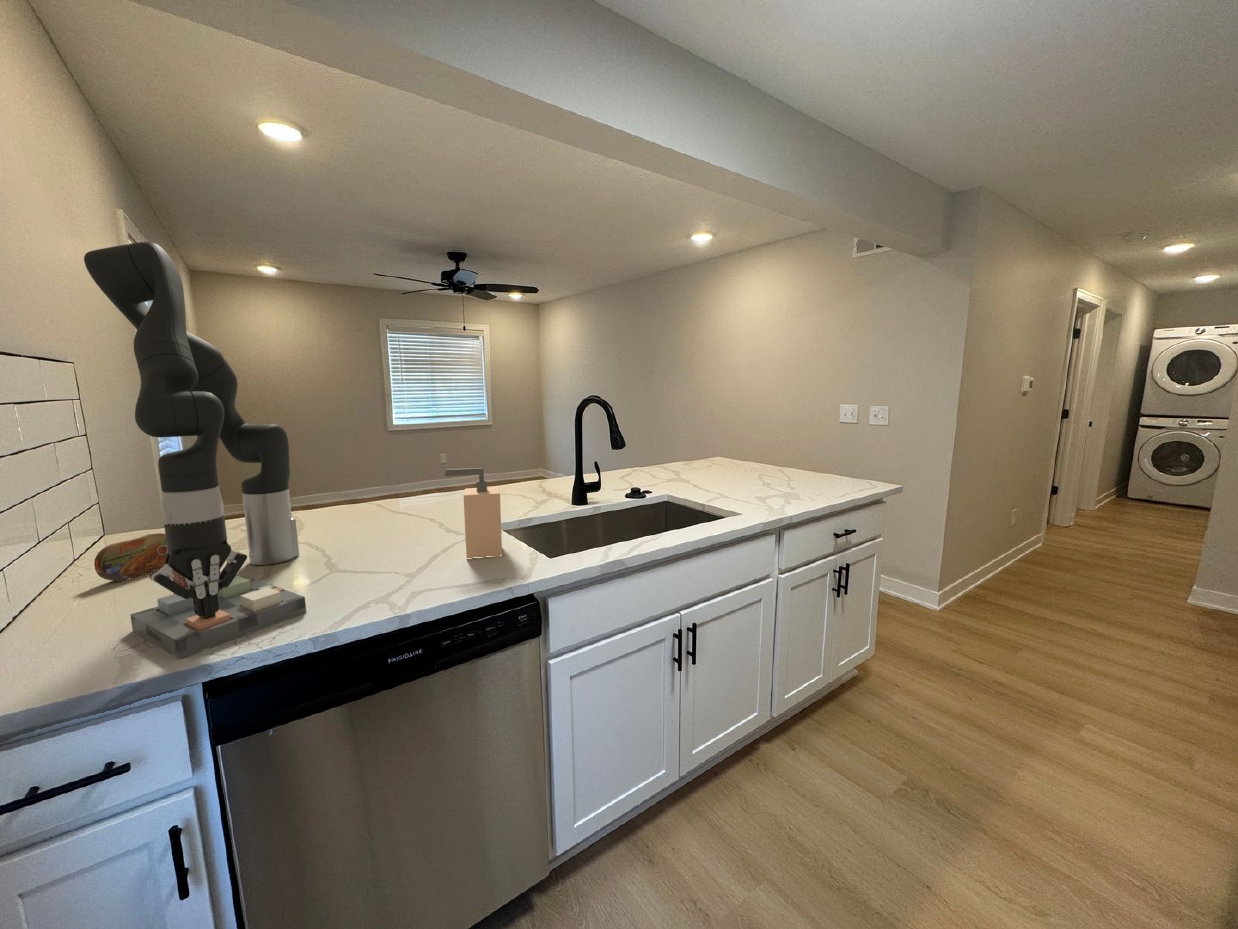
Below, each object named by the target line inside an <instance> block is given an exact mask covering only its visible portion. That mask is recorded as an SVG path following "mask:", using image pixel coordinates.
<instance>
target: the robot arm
mask: <svg viewBox="0 0 1238 929" xmlns="http://www.w3.org/2000/svg"><path fill="white" fill-rule="evenodd" d="M83 262H84V264H85V268H86V270H87V272H88V274H89V275H90V277H91V279H92V280H93V281H94V283H95V284H96V286H98V288H99V289H100V291H102V293H103V294H104V296H106V298H108V300H110V302H111V303H112V304H113V305H114V306H115V308H117V310H118V311H120V313H121V314H122V315H123V316H124V317H125V318H126V319H127V320H128V321H129V323H130V324H131V325H132V326H133V327H134V328H135V329H136V332H135V335H134V339H133V352H134V358H135V359H136V360H135V361H136V363H137V369H138V371H139V375H140V388H139V393H138V396H137V401H136V402H135V403H136V404H135V409H134V410H135V411H134V418H135V424H136V425H137V427H138V428H139V429H140V430H141V432H143V433H144V434H146V435H148V436H150V437H152V438H175V437H192V436H193V437H195V436H196V437H197V438H196V440H195V442H194V443H193V444H192V445H191V446H189V447H187V448H184V449H181V450H177V451H172V452H169V453H168V452H167V453H164V454H163V455H161V456H160V457H159V459H158V461H157V462H158V463H157V465H158V473H159V481H160V487H161V511H162V512H161V513H162V518H163V519H162V520H163V527H164V534H165V535H166V542H167V549H168V555H167V557H166V559H165V563H166V565H164V566H163V567H162V568H161V569H159V570H157V571H153V572H150V573H149V574H150V575H149V576H148V577H149V579H150V580H151V581H153V582H154V583H157V584H158V585H160V586H161V587H163V588H165V589H166V590H167V591H169V592H171V593H174V594H176V595H178V596H181V597H182V598H184V599H189V598H193V604H194V612H195V614H196V615H197V616H199V617H201V618H203V619H207V618H210V617H213V616H215V615H216V613H215V612H218V610H219V605H218V597H217V593H218V592H219V591H220V590H221V589H223V588H226V587H228V586H229V585H230V584H231V582H232V581H233V579H234V578H235V577H237V575H238V573H239V571H240V570H241V568H242V567H243V566H244V564H245V563H246V561H247V559H248V558H249V563H250V565H254V566H269V565H275V564H280V563H284V562H286V561H290V560H292V559H294V558H295V557H298V556H300V549H299V547H300V546H299V541H298V540H299V539H298V530H297V529H298V528H297V519H295V517H292V507H291V499H290V498H291V497H290V489H289V486H290V485H289V481H290V477H291V476H290V475H291V468H290V444H289V438H288V435H287V432H286V431H285V429H284V428H283V426H281V425H278V424H275V423H274V424H273V423H270V424H269V423H248V422H246V421H245V420H244V419H243V417H242V416H241V415H240V413H239V411H238V410H237V408H236V399H237V393H238V379H237V374H235V372H234V370H233V369H232V367H231V365H230V364H229V363H228V361H227V359H226V358H225V356H224V355H223V353H222V352H221V351H220V350H219V349H218V348H217V347H216V346H214V345H213V344H211V343H210V342H208V341H206V340H204V339H202V338H200V337H198V336H197V335H195V334H193V333H190V332H189V331H187V322H186V321H187V320H186V302H185V291H184V286H183V282H182V277H181V275H180V272H179V270H178V268H177V267H176V265H175V263H174V262H173V260H172V258H171V256H170V255H169V254H168V253H167V252H166V250H164V248H162V247H161V246H160V245H159V244H157V243H156V242H152V241H142V242H141V241H139V242H138V241H137V242H133V243H128V244H121V245H116V246H115V245H114V246H110V247H105V248H103V247H102V248H99V249H94V250H91V251H87V252H86V253H85V254H84V256H83ZM150 301H152V302H151V305H150V306H149V305H148V304H146V302H150ZM219 440H220V441H221V442H222V444H223V446H224V448H225V449H226V451H227V452H228V453H229V455H230V456H231V457H232V458H233V459H235V460H236V461H238V462H240V463H247V464H261V465H260V472H259V473H257V474H256V475H254V476H251V477H248V478H246V479H244V480H243V481H242V482H241V494H242V496H241V497H242V503H243V512H244V520H245V529H246V530H245V531H246V537H247V538H246V539H247V540H246V541H247V548H248V555H247V554H245V553H242V552H240V551H234V550H233V549H232V547H231V545H230V544H229V542H228V534H227V525H226V520H225V519H226V517H225V506H224V500H223V497H222V494H221V490H220V489H221V488H220V486H219V484H220V483H219V475H218V468H217V466H218V465H217V455H218V446H219ZM225 562H226V564H225ZM224 564H225V566H224ZM223 566H224V567H223ZM222 567H223V569H222ZM172 569H173V570H174V571H175V572H177V573H178V574H180V575H181V576H183V577H185V578H186V582H187V583H188V586H189V589H185V588H184V587H182V586H180V585H179V584H177V583H176V582H174V581H173V578H174V575H173V574H172ZM219 570H220V574H219Z"/></svg>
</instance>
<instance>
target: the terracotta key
mask: <svg viewBox="0 0 1238 929" xmlns="http://www.w3.org/2000/svg"><path fill="white" fill-rule="evenodd" d="M215 613H216V615H215V616H213V617H210V618H207V619H203V618H201V617H199V616H197V615H196V616H193V617H190V618H187V619H186V623H187V627H189V628H191V629H193V630H195V631H199V630H202V629H205V628H208V627H211V626H214V625H217V624H220V623H223V622H226V621H229V620H230V614H228V613H226V612H224V611H221V610H218V612H215Z"/></svg>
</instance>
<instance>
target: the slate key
mask: <svg viewBox="0 0 1238 929" xmlns="http://www.w3.org/2000/svg"><path fill="white" fill-rule="evenodd" d="M156 601H157V605H158V607H159V612H161V613H163V614H164V615H166V616H169V615H173V614H176V613H179V612H182V611H186V610H189V609H192V608H194V604H193V598H189V599H184V598H182V597H181V596H178V595H176V594H171V595H166V596H163V597H159V598H157V600H156Z"/></svg>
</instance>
